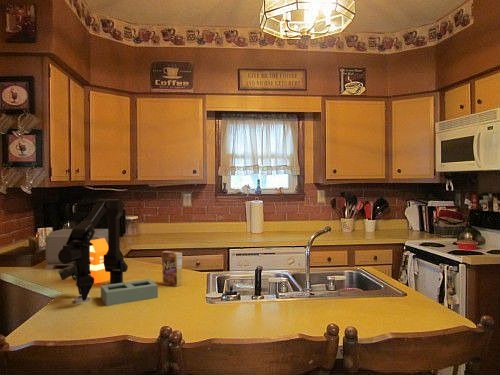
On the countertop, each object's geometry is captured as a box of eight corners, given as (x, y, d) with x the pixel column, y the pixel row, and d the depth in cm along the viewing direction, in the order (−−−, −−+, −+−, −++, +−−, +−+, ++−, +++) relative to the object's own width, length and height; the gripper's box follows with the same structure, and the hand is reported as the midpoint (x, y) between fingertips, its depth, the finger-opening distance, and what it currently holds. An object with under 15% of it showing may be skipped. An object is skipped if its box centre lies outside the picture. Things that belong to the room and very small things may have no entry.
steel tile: (74, 301, 151) (74, 296, 151) (88, 299, 154) (88, 294, 154) (76, 304, 148) (76, 299, 148) (90, 301, 151) (89, 296, 151)
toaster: (107, 269, 206) (107, 232, 206) (43, 270, 206) (43, 232, 206) (119, 262, 226) (119, 228, 226) (61, 262, 225) (60, 228, 225)
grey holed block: (100, 297, 155) (100, 285, 154) (149, 290, 165) (149, 279, 165) (106, 306, 144) (106, 292, 144) (157, 297, 155) (157, 285, 155)
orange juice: (84, 281, 181) (84, 240, 181) (99, 277, 189) (99, 237, 189) (95, 283, 177) (95, 241, 177) (110, 279, 185) (110, 238, 185)
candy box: (161, 284, 175) (161, 251, 175) (168, 282, 179) (167, 250, 179) (176, 287, 171) (176, 253, 170) (182, 284, 174) (182, 251, 174)
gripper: (57, 256, 155) (57, 294, 155) (61, 265, 139) (62, 307, 139) (86, 254, 160) (87, 290, 160) (94, 261, 144) (94, 302, 145)
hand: (82, 297), depth 151 cm, fingers open, 9 cm apart
